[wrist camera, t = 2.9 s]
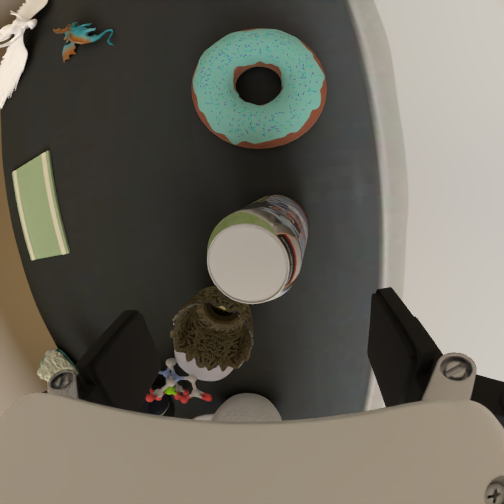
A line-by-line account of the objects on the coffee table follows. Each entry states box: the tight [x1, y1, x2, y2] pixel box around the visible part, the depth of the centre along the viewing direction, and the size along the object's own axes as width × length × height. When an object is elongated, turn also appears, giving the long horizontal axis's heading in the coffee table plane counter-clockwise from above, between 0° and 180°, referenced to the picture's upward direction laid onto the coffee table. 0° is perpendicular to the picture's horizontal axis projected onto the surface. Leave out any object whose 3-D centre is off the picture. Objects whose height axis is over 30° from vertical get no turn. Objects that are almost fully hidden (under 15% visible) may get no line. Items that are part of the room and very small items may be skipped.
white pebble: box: [174, 350, 233, 381], centre depth 32 cm, size 8×8×2 cm
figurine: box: [0, 0, 48, 109], centre depth 16 cm, size 12×25×14 cm
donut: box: [191, 28, 327, 149], centre depth 20 cm, size 12×12×4 cm
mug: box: [193, 393, 282, 422], centre depth 30 cm, size 15×11×13 cm
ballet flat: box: [37, 349, 79, 382], centre depth 36 cm, size 9×24×8 cm, turn 36°
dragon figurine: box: [53, 22, 114, 62], centre depth 19 cm, size 6×7×8 cm
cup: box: [170, 285, 254, 372], centre depth 26 cm, size 8×7×8 cm
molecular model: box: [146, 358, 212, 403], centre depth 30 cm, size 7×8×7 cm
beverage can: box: [207, 195, 309, 304], centre depth 21 cm, size 6×7×12 cm
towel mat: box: [12, 150, 71, 260], centre depth 28 cm, size 14×10×1 cm
